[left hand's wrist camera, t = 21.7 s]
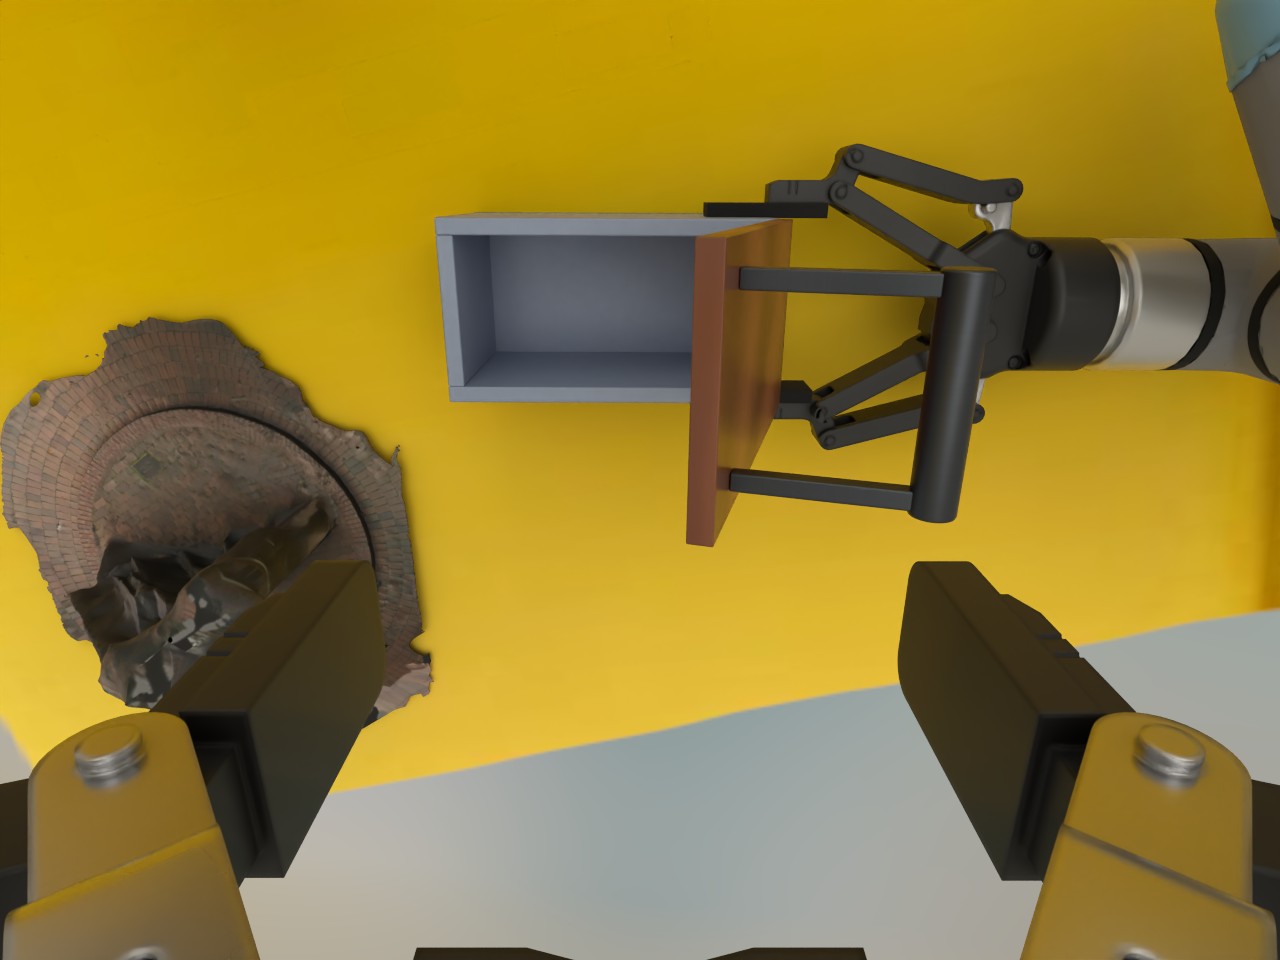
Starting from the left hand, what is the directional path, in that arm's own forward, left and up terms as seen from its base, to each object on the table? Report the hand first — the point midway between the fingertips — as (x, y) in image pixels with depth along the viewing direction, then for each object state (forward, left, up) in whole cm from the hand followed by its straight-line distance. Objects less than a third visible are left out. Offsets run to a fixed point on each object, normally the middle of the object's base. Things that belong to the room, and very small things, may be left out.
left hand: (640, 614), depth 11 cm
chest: (-2, 0, -41) cm, 41 cm away
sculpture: (-32, -17, -41) cm, 55 cm away
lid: (+4, 0, -21) cm, 22 cm away
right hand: (+4, 0, -35) cm, 35 cm away
